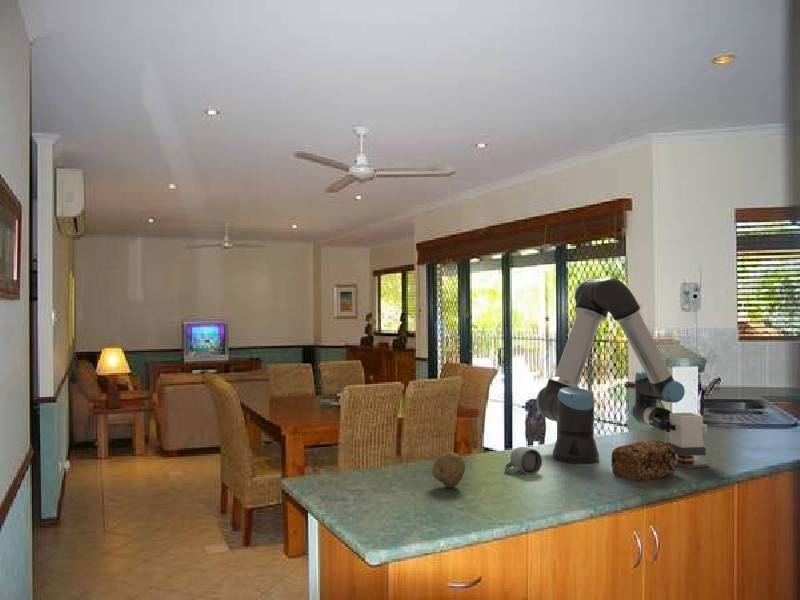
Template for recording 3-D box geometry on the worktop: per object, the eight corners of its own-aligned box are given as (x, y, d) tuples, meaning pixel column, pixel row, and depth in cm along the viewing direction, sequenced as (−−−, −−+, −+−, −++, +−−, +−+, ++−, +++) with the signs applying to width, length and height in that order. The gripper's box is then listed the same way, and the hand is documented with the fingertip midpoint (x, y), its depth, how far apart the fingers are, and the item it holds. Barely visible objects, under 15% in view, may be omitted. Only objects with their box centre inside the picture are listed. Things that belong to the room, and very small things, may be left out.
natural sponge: (438, 492, 184) (438, 456, 184) (428, 484, 193) (428, 449, 193) (469, 490, 186) (469, 454, 187) (458, 482, 195) (458, 448, 195)
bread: (648, 468, 216) (649, 437, 217) (678, 475, 207) (678, 442, 208) (609, 475, 206) (609, 442, 207) (638, 483, 197) (638, 448, 198)
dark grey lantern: (687, 469, 215) (687, 431, 215) (662, 462, 224) (662, 426, 224) (709, 466, 219) (709, 429, 219) (683, 459, 228) (683, 424, 228)
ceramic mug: (529, 467, 214) (528, 443, 215) (542, 473, 207) (542, 448, 207) (499, 470, 211) (499, 446, 211) (512, 477, 203) (512, 451, 203)
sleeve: (681, 447, 218) (681, 416, 218) (669, 443, 225) (669, 413, 225) (702, 447, 218) (702, 416, 219) (690, 442, 226) (690, 412, 226)
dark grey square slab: (679, 455, 217) (679, 448, 217) (666, 449, 225) (666, 442, 226) (705, 455, 218) (705, 447, 218) (690, 449, 226) (690, 442, 226)
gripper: (686, 428, 241) (723, 440, 218) (631, 429, 238) (664, 441, 216) (686, 406, 241) (723, 417, 218) (631, 407, 238) (664, 418, 216)
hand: (694, 429), depth 217 cm, fingers closed on sleeve, 7 cm apart
